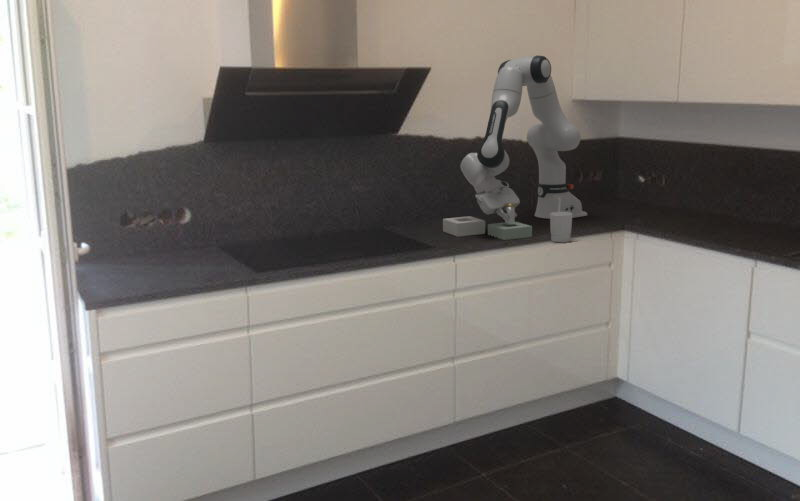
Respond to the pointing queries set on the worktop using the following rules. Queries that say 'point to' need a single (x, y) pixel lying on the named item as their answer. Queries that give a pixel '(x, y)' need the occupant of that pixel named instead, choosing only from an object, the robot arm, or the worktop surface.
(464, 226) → the grey block with hole
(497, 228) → the socket block
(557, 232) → the white cup
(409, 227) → the worktop surface
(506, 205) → the silver gold-banded cylinder
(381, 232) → the worktop surface
